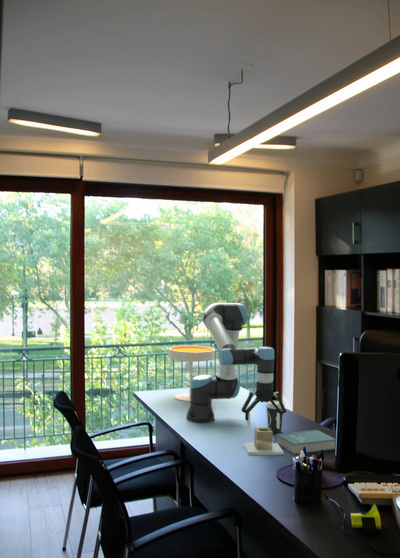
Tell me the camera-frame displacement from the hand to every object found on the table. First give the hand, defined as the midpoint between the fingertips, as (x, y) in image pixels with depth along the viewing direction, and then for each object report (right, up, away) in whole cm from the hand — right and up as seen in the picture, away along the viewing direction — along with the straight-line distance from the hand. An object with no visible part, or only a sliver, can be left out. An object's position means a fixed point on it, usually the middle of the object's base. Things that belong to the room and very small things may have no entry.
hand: (263, 427), depth 244 cm
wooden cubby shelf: (0, -9, 0) cm, 9 cm away
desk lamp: (-35, -8, +95) cm, 101 cm away
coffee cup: (+9, -10, +27) cm, 31 cm away
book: (+21, -11, +7) cm, 24 cm away
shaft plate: (0, -10, 0) cm, 10 cm away
